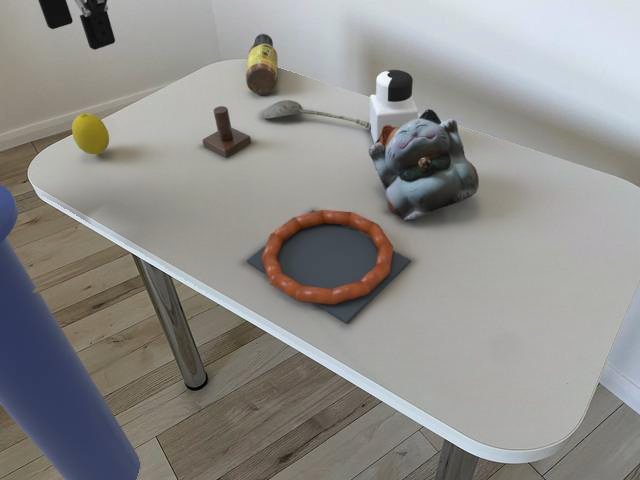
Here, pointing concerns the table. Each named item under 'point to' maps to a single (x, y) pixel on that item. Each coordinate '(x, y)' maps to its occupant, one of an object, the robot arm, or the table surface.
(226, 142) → the post stand
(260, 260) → the mat
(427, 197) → the lucky cat figurine
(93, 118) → the lemon
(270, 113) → the soupspoon
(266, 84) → the sauce bottle
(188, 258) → the table surface
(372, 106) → the medicine bottle
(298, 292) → the ring
